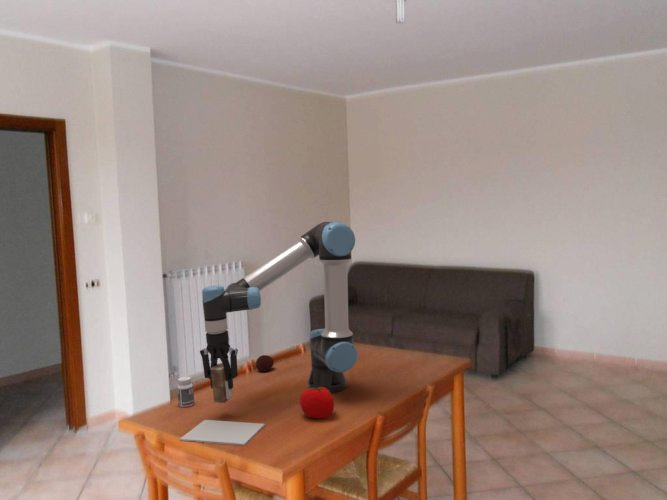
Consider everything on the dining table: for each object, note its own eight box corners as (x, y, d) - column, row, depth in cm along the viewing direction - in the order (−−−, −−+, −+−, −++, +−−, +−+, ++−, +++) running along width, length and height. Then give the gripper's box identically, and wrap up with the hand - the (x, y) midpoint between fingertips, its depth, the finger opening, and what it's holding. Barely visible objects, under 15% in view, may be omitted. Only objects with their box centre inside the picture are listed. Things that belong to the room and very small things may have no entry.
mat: (265, 425, 193) (264, 423, 193) (244, 445, 177) (244, 443, 177) (205, 421, 199) (204, 419, 199) (179, 440, 184) (179, 438, 184)
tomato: (325, 424, 191) (323, 394, 190) (293, 418, 198) (291, 388, 197) (343, 413, 200) (341, 384, 200) (312, 407, 207) (310, 379, 206)
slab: (232, 396, 205) (229, 363, 203) (224, 402, 199) (221, 368, 198) (222, 396, 206) (218, 362, 205) (213, 402, 200) (210, 368, 199)
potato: (278, 368, 258) (277, 353, 257) (265, 374, 251) (265, 358, 250) (265, 366, 262) (264, 351, 261) (252, 372, 254) (251, 356, 254)
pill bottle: (197, 402, 218) (195, 376, 217) (188, 408, 213) (187, 381, 212) (184, 401, 220) (182, 375, 219) (175, 406, 215) (173, 380, 214)
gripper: (244, 328, 201) (250, 394, 203) (199, 328, 206) (206, 393, 208) (234, 333, 194) (241, 402, 196) (188, 334, 199) (195, 400, 201)
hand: (223, 397), depth 202 cm, fingers closed on slab, 4 cm apart
